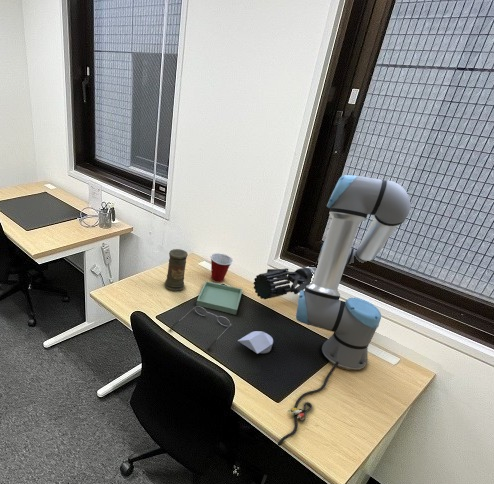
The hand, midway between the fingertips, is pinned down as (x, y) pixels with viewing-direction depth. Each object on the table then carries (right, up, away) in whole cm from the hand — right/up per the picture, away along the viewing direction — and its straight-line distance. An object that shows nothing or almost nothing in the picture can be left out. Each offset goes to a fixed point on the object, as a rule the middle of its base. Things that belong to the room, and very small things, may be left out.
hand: (267, 284), depth 158 cm
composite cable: (-3, -41, -39) cm, 57 cm away
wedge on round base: (-9, -24, -13) cm, 29 cm away
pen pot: (+2, -5, +4) cm, 7 cm away
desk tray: (-16, -7, +15) cm, 23 cm away
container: (-36, -1, +24) cm, 43 cm away
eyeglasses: (-29, -19, -4) cm, 35 cm away
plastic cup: (-13, +3, +31) cm, 34 cm away
